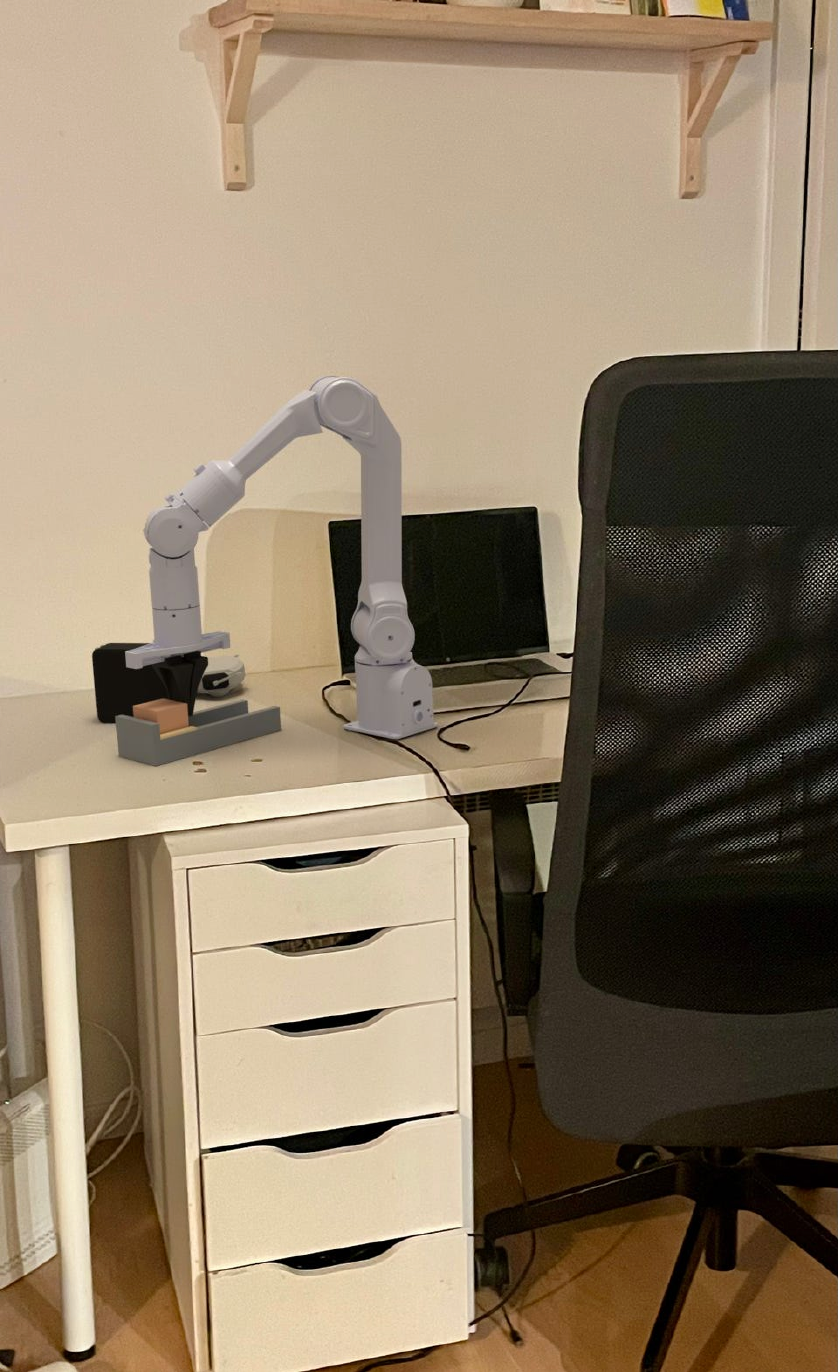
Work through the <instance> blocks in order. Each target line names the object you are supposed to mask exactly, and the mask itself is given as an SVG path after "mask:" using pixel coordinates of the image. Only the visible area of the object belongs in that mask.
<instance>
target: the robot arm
mask: <svg viewBox="0 0 838 1372" xmlns="http://www.w3.org/2000/svg"><path fill="white" fill-rule="evenodd" d="M322 427H323V428H325V429H327V430H329V431H331V432H334V433H336V434H337V435H340V436H341V437H342V439H343V440H345V442H346V443H348V444H349V445H350V447H352V448H353V449H355V451H356V452H358V453H359V455H360V502H361V505H360V507H361V508H360V509H361V510H360V512H361V513H360V514H361V515H360V518H361V519H360V520H361V521H360V522H361V523H360V524H361V525H360V526H361V530H360V531H361V533H360V535H361V582H360V585H359V588H358V593H357V600H358V601H357V606H356V609H355V611H354V612H353V615H352V618H351V621H350V622H351V623H350V630H351V634H352V637H353V638H354V640H355V641H356V642H357V643H358V644H359V647H358V651H356V653H355V654H354V670H355V671H354V672H355V674H354V675H355V689H356V691H355V693H356V696H355V697H356V711H357V717H356V718H357V720H354V721H351V722H348V723H345V724H343V725H342V727H343V729H345V730H348V731H354V732H360V733H363V734H368V735H372V736H376V737H383V738H385V739H386V738H387V739H392V740H401V739H403V738H406V737H408V736H412V735H415V734H419V733H422V732H425V731H428V730H431V729H434V728H437V727H439V723H438V722H436V721H435V720H434V699H433V698H434V694H433V691H434V690H433V679H432V675H431V673H430V671H429V670H428V669H427V668H426V667H425V666H422V665H420V664H418V663H417V662H416V661H415V660H414V659H413V652H412V649H413V647H414V644H415V640H416V639H415V636H416V634H415V629H414V626H413V624H412V623H411V620H410V619H409V616H408V615H409V614H408V602H407V598H406V594H405V591H404V588H403V587H404V586H403V583H402V581H403V578H402V570H403V568H402V566H403V563H402V562H403V560H402V558H403V557H402V555H403V554H402V553H403V552H402V549H403V548H402V540H403V537H402V535H403V534H402V529H403V528H402V527H403V526H402V518H403V517H402V513H403V512H402V511H403V510H402V504H403V503H402V501H403V500H402V496H403V495H402V488H403V487H402V484H403V483H402V439H401V436H400V434H399V432H398V431H397V429H396V427H395V426H394V424H393V423H392V421H391V419H390V417H389V416H388V415H387V413H386V411H385V410H384V408H383V407H382V405H381V403H380V401H379V398H378V396H377V394H375V392H373V391H372V390H370V389H369V388H368V387H366V386H365V385H364V384H363V383H361V382H360V381H358V380H357V379H354V378H352V377H349V376H347V377H345V376H343V377H340V376H336V375H325V376H322V377H320V378H318V379H317V380H315V381H314V382H313V383H312V384H311V385H310V387H309V389H304V390H302V391H301V392H299V393H298V394H296V395H295V396H294V397H293V398H291V399H290V400H289V401H287V402H286V403H285V404H284V405H283V406H282V407H280V408H279V410H277V411H276V412H275V413H274V414H273V415H272V416H271V417H270V419H268V420H267V422H265V423H264V424H263V425H262V426H261V427H260V428H259V429H258V430H257V431H256V432H255V433H254V434H253V435H252V436H251V437H250V438H249V439H248V440H246V442H245V443H244V444H243V445H242V446H240V448H239V449H238V450H237V451H236V452H235V453H233V455H232V456H230V457H229V458H228V459H226V460H220V459H211V460H210V461H209V462H208V463H207V464H203V463H202V462H201V463H199V464H198V465H196V466H195V468H194V469H193V471H194V472H195V475H193V476H192V478H190V479H189V480H188V481H187V482H186V483H185V484H184V485H182V486H181V487H180V488H178V490H176V492H175V493H174V494H173V493H172V492H169V493H168V494H167V495H166V496H165V497H164V500H165V501H166V502H167V503H168V504H164V505H160V506H158V507H156V508H154V509H153V510H152V511H151V512H150V513H149V514H148V516H147V517H146V522H145V523H144V528H143V535H144V538H145V540H146V541H147V543H148V544H149V546H151V547H150V548H149V552H148V553H149V554H148V563H149V565H150V567H149V570H148V573H149V574H148V576H149V590H150V603H151V612H152V624H153V625H152V626H153V637H154V639H152V642H149V643H150V644H147V645H145V646H142V647H139V648H136V649H133V650H130V651H126V652H125V657H126V667H128V668H133V669H140V668H143V666H146V665H150V664H152V667H153V669H154V670H155V671H156V673H157V674H158V676H159V677H160V679H161V681H162V682H163V684H164V686H165V688H166V690H167V693H168V695H169V698H170V700H173V701H177V702H182V703H186V704H187V710H188V717H189V716H193V712H195V711H194V710H195V704H196V699H197V695H198V692H197V691H198V687H199V684H200V681H201V679H202V676H203V674H204V672H205V670H206V668H207V666H208V658H209V657H208V656H203V655H202V653H207V652H212V651H216V650H219V649H222V650H227V649H231V638H230V637H231V635H230V632H226V631H220V630H219V631H213V632H206V633H203V632H202V631H203V630H202V620H201V618H202V617H201V606H200V605H201V604H200V590H199V588H200V587H199V576H198V573H199V572H198V567H197V565H196V560H195V559H196V558H195V547H196V546H197V544H198V541H199V534H200V533H201V532H207V531H208V530H209V529H210V528H211V527H213V525H215V523H217V522H218V521H219V520H220V519H221V518H222V517H223V516H225V515H226V513H228V512H229V511H230V510H231V509H232V508H233V507H234V506H236V504H238V503H239V502H240V501H241V500H242V499H243V498H244V497H245V495H246V494H245V493H246V481H247V480H248V479H249V478H251V477H252V475H254V474H255V473H256V472H257V471H259V470H260V469H261V468H262V467H263V466H265V464H267V463H268V462H269V461H270V460H271V459H273V458H274V457H275V456H276V455H277V454H278V453H280V452H281V451H282V450H283V449H285V448H286V447H287V446H288V445H289V444H291V443H292V442H293V441H294V440H295V439H297V438H302V437H308V436H312V435H317V434H323V433H324V432H323V428H322Z"/></svg>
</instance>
